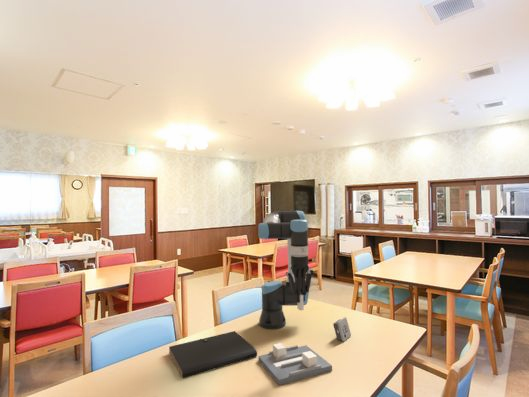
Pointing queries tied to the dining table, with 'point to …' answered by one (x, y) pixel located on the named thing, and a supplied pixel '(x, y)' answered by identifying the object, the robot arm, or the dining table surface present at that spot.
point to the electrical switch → (342, 329)
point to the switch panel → (292, 365)
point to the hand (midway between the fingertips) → (300, 309)
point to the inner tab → (279, 350)
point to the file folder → (210, 353)
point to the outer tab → (309, 359)
